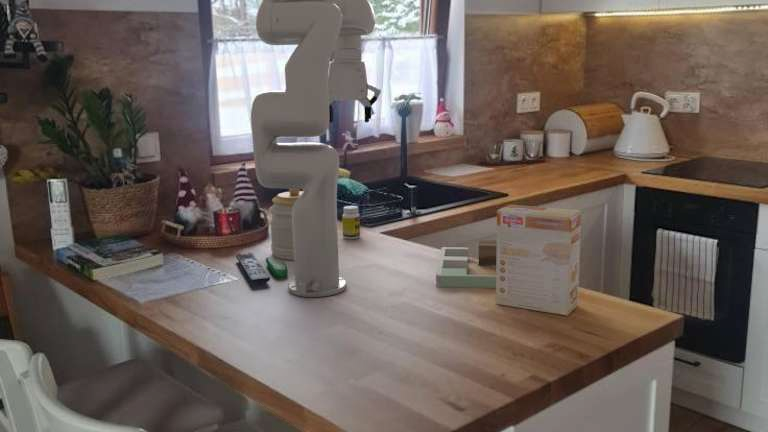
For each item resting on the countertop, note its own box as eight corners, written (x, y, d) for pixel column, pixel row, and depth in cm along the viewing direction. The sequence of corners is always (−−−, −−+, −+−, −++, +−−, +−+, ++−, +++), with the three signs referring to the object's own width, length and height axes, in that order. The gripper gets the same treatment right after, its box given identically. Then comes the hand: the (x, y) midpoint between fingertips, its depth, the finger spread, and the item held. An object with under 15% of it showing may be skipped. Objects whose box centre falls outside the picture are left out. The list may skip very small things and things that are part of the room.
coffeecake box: (578, 305, 151) (582, 209, 146) (567, 316, 145) (571, 217, 140) (507, 294, 158) (509, 202, 154) (494, 304, 152) (495, 209, 148)
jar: (263, 259, 187) (259, 189, 183) (282, 245, 199) (279, 179, 195) (313, 262, 184) (310, 190, 180) (329, 248, 196) (327, 181, 192)
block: (499, 266, 178) (500, 245, 177) (478, 265, 179) (478, 245, 178) (499, 260, 183) (499, 240, 182) (478, 259, 184) (478, 239, 182)
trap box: (518, 288, 162) (518, 277, 161) (436, 286, 164) (436, 275, 163) (514, 258, 184) (514, 248, 183) (441, 256, 186) (441, 247, 186)
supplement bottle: (357, 239, 204) (357, 209, 202) (340, 239, 205) (339, 208, 203) (362, 235, 209) (361, 205, 207) (345, 234, 210) (344, 205, 208)
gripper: (311, 57, 194) (313, 123, 198) (378, 55, 192) (379, 123, 196) (317, 56, 202) (319, 120, 205) (381, 55, 199) (383, 120, 203)
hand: (349, 122), depth 201 cm, fingers open, 9 cm apart
